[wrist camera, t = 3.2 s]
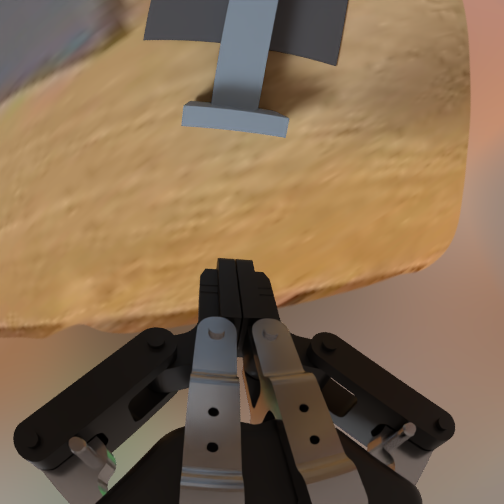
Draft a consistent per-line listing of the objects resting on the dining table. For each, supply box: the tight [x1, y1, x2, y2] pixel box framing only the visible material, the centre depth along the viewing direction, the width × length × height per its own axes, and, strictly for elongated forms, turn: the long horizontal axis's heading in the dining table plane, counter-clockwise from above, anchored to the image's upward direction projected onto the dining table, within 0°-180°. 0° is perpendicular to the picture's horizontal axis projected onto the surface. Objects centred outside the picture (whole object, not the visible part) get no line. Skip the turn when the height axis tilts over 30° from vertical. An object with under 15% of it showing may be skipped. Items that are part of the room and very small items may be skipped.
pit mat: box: [144, 0, 348, 66], centre depth 14 cm, size 14×7×1 cm, turn 81°
